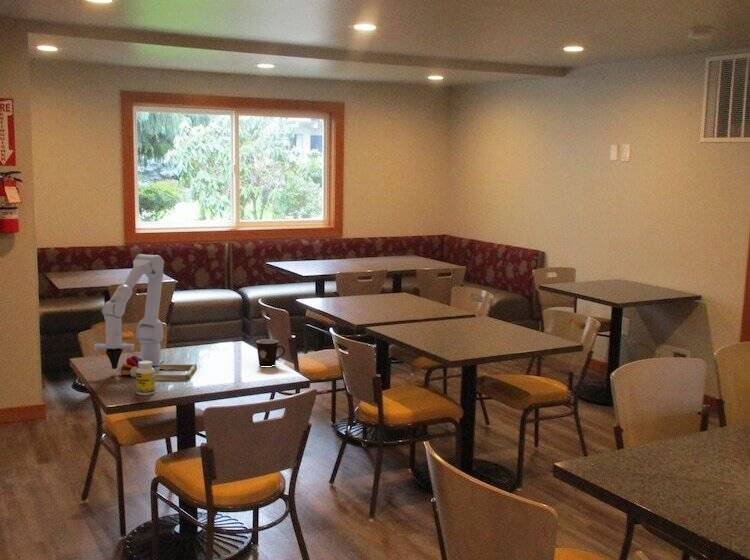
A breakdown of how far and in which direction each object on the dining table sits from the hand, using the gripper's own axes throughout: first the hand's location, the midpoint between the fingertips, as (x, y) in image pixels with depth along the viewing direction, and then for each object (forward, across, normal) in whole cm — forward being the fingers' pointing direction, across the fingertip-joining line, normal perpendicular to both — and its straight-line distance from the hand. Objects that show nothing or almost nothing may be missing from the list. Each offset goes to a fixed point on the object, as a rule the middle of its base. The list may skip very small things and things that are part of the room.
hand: (114, 368), depth 295 cm
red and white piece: (+3, +7, 0) cm, 7 cm away
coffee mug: (+3, +57, +14) cm, 59 cm away
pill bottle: (+3, +18, -26) cm, 32 cm away
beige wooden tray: (+2, +22, 0) cm, 22 cm away
